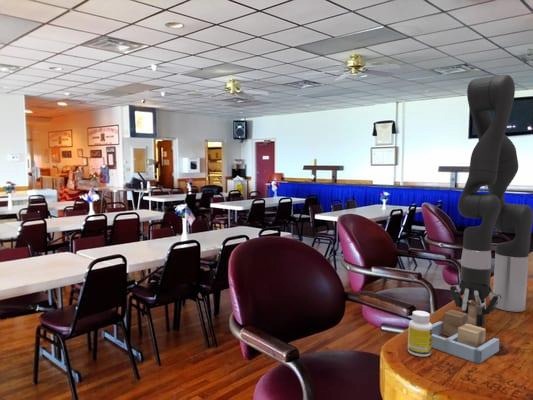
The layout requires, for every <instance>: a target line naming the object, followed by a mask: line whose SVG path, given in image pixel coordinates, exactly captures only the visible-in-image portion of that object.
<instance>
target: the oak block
mask: <svg viewBox="0 0 533 400" xmlns="http://www.w3.org/2000/svg"><path fill="white" fill-rule="evenodd" d="M486 331H487V329H486V328H484V327H477V326H474V325H470V324H465V325H463V326H461V327H459V328H458V337H457V342H459V343H462V344H465V345H468V346H471V347H474V348H478V347H480V346H481V345H483V344H485V343H486Z"/></svg>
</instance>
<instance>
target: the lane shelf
mask: <svg viewBox="0 0 533 400" xmlns="http://www.w3.org/2000/svg"><path fill="white" fill-rule="evenodd" d="M431 324H432V345H431V349H435V350H439V351H440V352H443V353H446V354H449V355H451V356H455V357H458V358H460V359H464V360H466V361H469V362H472V363H475V364H477V365H479V364H481V363H483V362H485V361H486V360H488V359H489V358H490V357H492V356H493V355H495V354H497V353H498V352H499V351H500V338H496V337H493V338H492V339H490V340H488V341H487V342H486V341H485V344H483V345H481V346H480V347H478V348H474V347H471V346H468V345H465V344H462V343H459V342H457V337H458V333H457V334H455V335H453V336H451V337H449V336H448V337H447V338H446V337H443V336H441V335H443V326H444V321H436V322H435V323H431Z"/></svg>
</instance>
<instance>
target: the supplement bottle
mask: <svg viewBox="0 0 533 400" xmlns="http://www.w3.org/2000/svg"><path fill="white" fill-rule="evenodd" d="M411 316H412V319H411V320H409V323H408V334H407V335H408V336H407V337H408V338H407V351H408V352H409V353H410V354H411V355H413V356H416V357H421V358H422V357H423V358H424V357H425V358H426V357H429V356H430V355H431V354H432V347H431V345H432V324H433V323H431V322H430V319H431V313H429V312H427V311H425V310H413V311H412V315H411Z"/></svg>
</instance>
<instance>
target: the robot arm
mask: <svg viewBox="0 0 533 400" xmlns="http://www.w3.org/2000/svg"><path fill="white" fill-rule="evenodd" d="M466 89H467V91H466V97H467V104H468V108H469V110H470V114H471V117H472V121H473V124H474V127H475V131H476V134H477V139H478V142H477V143H476V145H475V146H474V148H473V150H472V151H471V154H470V155H471V156H470V161H469V167H468V168H469V169H468V176H467V179H466V182H465V184H464V187H463V188H462V189H463V190H462V191H461V193H460V196H459V198H458V203H457V210H458V213H459V214H460V216H462V217H464V218H468V219H477V220H482V221H481V223H480V225H476V226H475V225H474V226H468V227H466V228H465V229H464V231H463V239H462V241H463V242H462V243H463V245H462V251H461V252H462V253H461V259H460V264H461V265H460V282H459V283H458V284H453V285H451V286H450V287H449V290H450V292H451V295H452V298H453V301H454V304H455V306H456V307H457V308H460V309H461V311H462V313H466V314H468V304H470V303H472V302H475V304H476V306H477V309H478V314H477V327H481V328H483V326H485V324H486V323H485V322H486V315H490V314H492V313H493V312H494V310H495V309H499V310H502V311H506V312H515V313H517V312H519V313H520V312H524V311H526V305H527V304H526V302H527V290H528V289H527V287H528V270H529V268H528V267H529V256H530V254H529V253H530V248H531V239H532V238H531V237H532V230H533V209H532V207H531V206H530V205H528V204H519V203H507V202H506V200H505V194H506V191H507V189H508V187H509V186H510V184H511V183H512V182H513V180H514V179H515V177H516V175H517V173H518V172H519V160H518V154H517V148H516V146H515V144H514V143H513V141H512V140H511V139H510V138H509V136H508V135H506V134H505V133H506V130H507V128H508V123H509V119H510V117H511V113H512V109H513V105H514V101H515V94H516V93H515V92H516V87H515V82H514V79H513V77H511V76H510V75H509V74H499V75H492V76H484V77H478V78H474V79H472V80H471V81H469V82H468V85H467V88H466ZM490 111H494V114H493V118H492V115H491V113H490ZM486 186H487V191H488V193H482V192H481V193H478V191H479V190H480V189H481V188H483V187H486ZM494 230H496V231H497V232H501V233H507V234H515V236H514V238H513V239H512V240H509V241H504V242H499V243H497V244H496V246H495V252H494V253H495V254H494V255H495V256H494V271H493V285H492V286H493V289H492V287H491V275H492V259H493V258H492V241H493V240H492V239H493V233H494ZM461 292H462V294H463V298H462V294H461ZM488 297H489V301H490V302H489V303H488V305H487V306H486V304H487V301H486V299H487V298H488Z"/></svg>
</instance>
